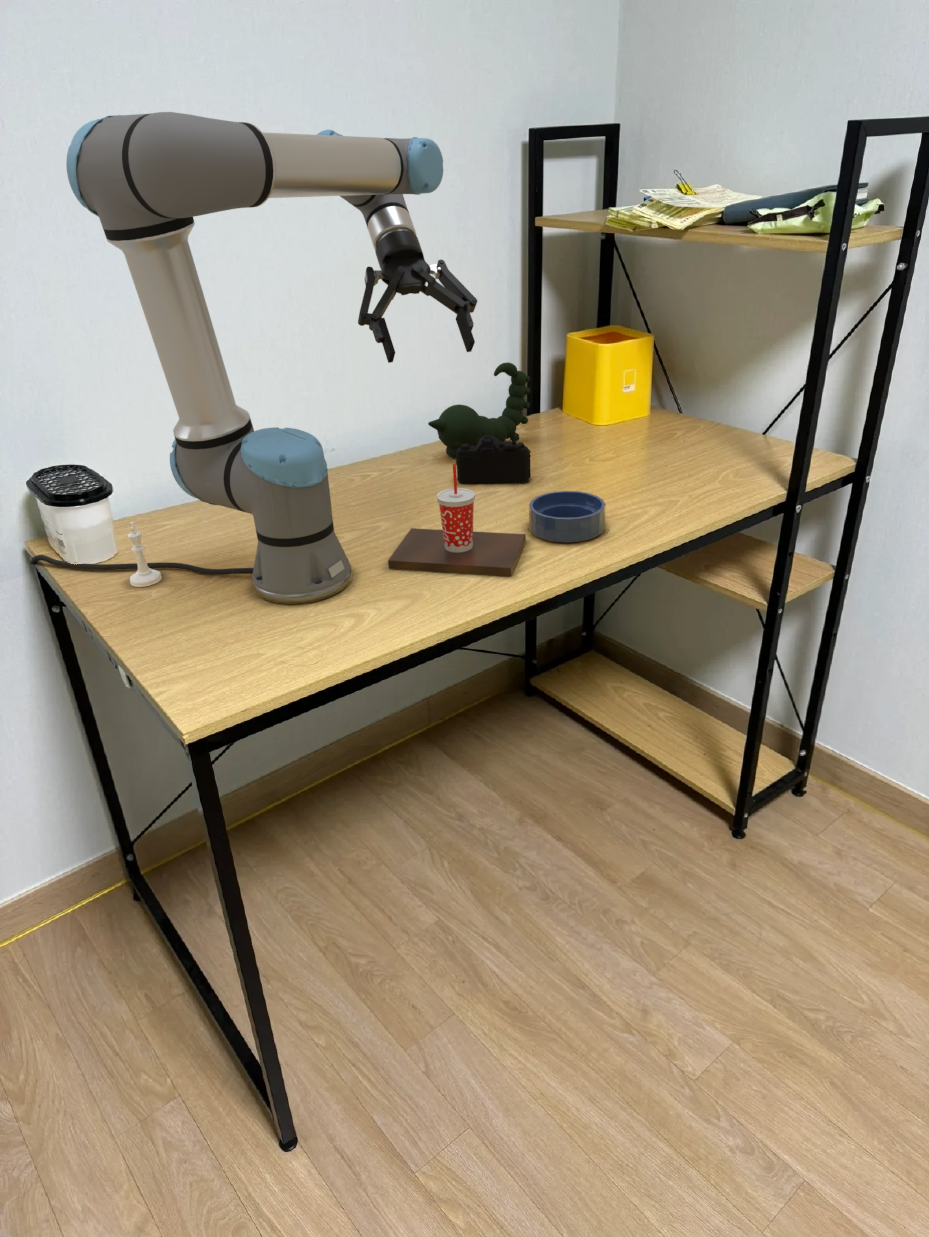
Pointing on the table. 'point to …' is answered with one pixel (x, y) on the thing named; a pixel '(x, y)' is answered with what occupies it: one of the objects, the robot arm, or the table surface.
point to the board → (484, 558)
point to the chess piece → (141, 563)
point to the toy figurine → (469, 427)
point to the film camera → (493, 462)
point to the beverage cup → (457, 517)
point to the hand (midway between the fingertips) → (432, 352)
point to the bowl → (567, 516)
